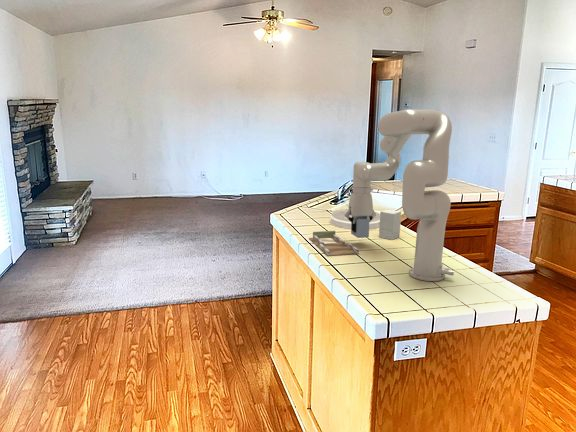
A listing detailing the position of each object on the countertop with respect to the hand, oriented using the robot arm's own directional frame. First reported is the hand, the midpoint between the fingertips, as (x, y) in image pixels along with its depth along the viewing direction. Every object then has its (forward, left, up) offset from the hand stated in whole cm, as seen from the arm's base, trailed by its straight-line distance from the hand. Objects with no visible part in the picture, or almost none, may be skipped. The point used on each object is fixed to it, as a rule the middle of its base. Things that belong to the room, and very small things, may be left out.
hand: (359, 230), depth 201 cm
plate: (+11, -38, -7) cm, 40 cm away
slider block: (0, 0, -2) cm, 2 cm away
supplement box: (-10, -19, -7) cm, 23 cm away
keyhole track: (+10, +7, -7) cm, 14 cm away
